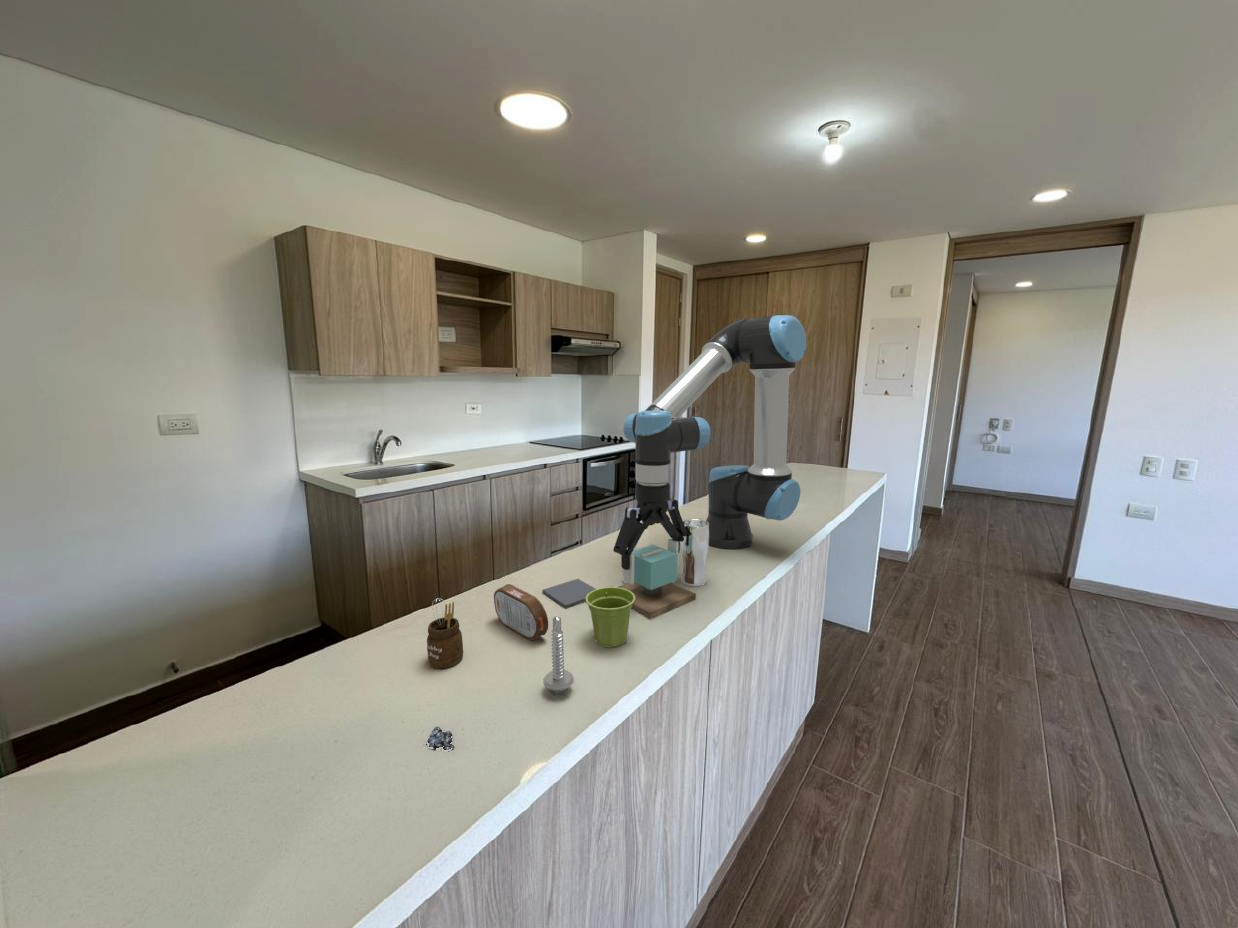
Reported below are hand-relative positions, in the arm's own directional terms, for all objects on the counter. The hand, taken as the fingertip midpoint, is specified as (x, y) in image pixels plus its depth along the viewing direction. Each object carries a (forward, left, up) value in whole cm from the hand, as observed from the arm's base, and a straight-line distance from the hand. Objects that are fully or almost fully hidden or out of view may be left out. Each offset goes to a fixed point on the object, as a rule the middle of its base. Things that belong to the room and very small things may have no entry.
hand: (651, 574), depth 109 cm
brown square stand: (0, 0, -6) cm, 6 cm away
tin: (+30, -6, -6) cm, 31 cm away
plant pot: (+18, +8, -6) cm, 20 cm away
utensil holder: (+45, -5, -6) cm, 46 cm away
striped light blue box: (0, 0, -1) cm, 1 cm away
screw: (+34, +15, -6) cm, 38 cm away
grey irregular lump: (+52, +14, -6) cm, 54 cm away
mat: (+13, -13, -6) cm, 19 cm away
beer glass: (-14, 0, -6) cm, 15 cm away
